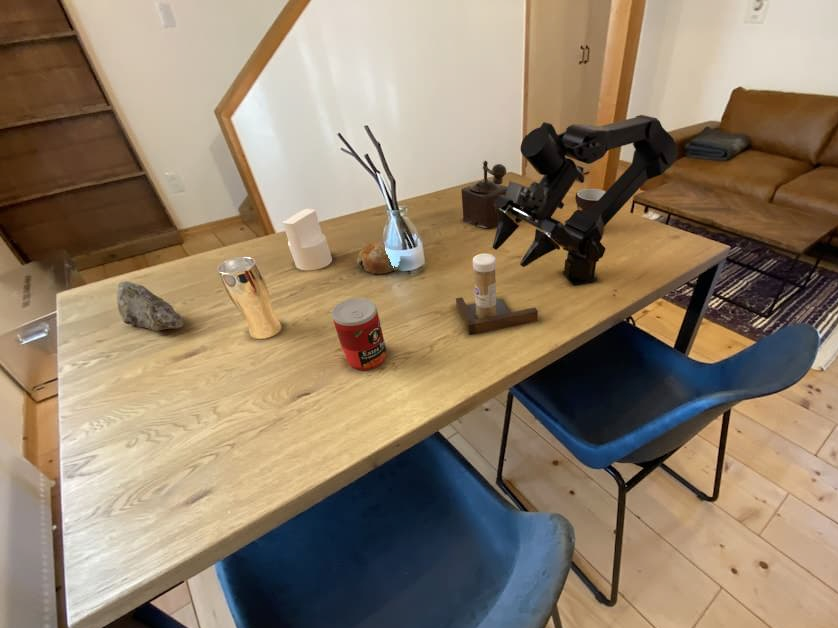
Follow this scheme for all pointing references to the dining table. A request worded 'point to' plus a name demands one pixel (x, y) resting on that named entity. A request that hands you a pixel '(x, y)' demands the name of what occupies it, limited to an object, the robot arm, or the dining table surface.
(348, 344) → the canned food
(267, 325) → the beer glass
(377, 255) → the bread roll
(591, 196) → the coffee mug
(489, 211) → the brown coffee grinder
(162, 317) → the mineral rock
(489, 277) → the sprinkles bottle
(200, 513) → the dining table surface
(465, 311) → the corner guide
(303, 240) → the base with upright slab
